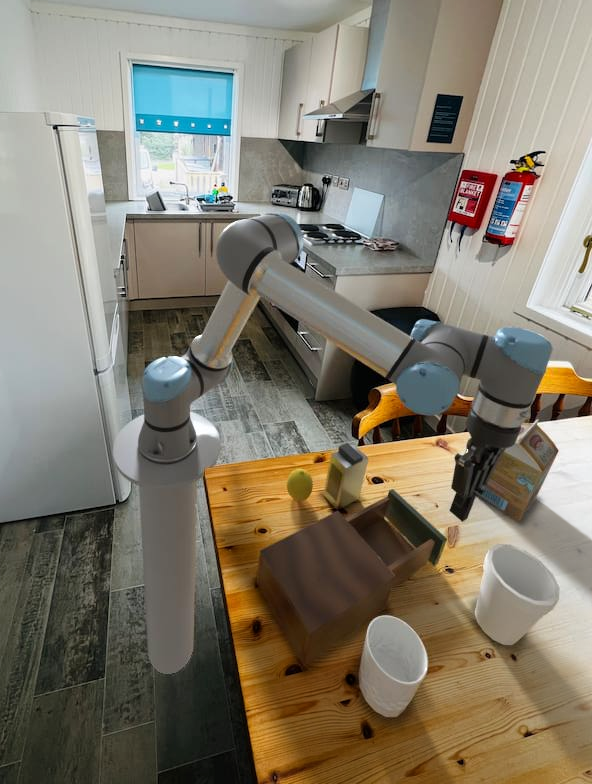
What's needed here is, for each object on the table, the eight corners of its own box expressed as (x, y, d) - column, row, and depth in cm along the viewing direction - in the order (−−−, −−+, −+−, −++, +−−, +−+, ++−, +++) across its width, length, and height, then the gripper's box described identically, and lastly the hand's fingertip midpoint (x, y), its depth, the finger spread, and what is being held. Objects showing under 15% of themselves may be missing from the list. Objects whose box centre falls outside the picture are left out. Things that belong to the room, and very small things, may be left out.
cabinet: (331, 541, 78) (338, 510, 75) (385, 608, 67) (395, 576, 64) (256, 582, 70) (259, 550, 67) (303, 667, 59) (311, 633, 56)
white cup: (380, 644, 63) (393, 605, 59) (422, 702, 56) (441, 663, 52) (342, 672, 59) (354, 632, 55) (384, 738, 53) (400, 698, 49)
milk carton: (486, 468, 98) (511, 406, 91) (535, 498, 91) (567, 432, 83) (468, 488, 92) (493, 423, 85) (519, 521, 85) (551, 453, 77)
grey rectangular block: (322, 494, 88) (331, 449, 83) (344, 484, 92) (354, 439, 86) (336, 510, 85) (347, 464, 80) (359, 499, 88) (370, 453, 83)
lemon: (287, 509, 85) (291, 481, 81) (283, 487, 90) (287, 461, 87) (312, 509, 85) (317, 481, 82) (307, 488, 90) (311, 461, 87)
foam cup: (507, 595, 70) (532, 545, 65) (543, 658, 62) (576, 606, 57) (454, 592, 70) (475, 542, 65) (483, 654, 62) (510, 603, 57)
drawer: (390, 509, 85) (396, 486, 82) (442, 560, 75) (451, 536, 72) (327, 544, 77) (332, 520, 74) (376, 607, 67) (384, 581, 64)
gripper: (496, 441, 61) (455, 545, 70) (540, 418, 67) (497, 516, 76) (451, 413, 67) (419, 512, 76) (495, 394, 73) (460, 488, 82)
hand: (458, 514), depth 76 cm, fingers closed
